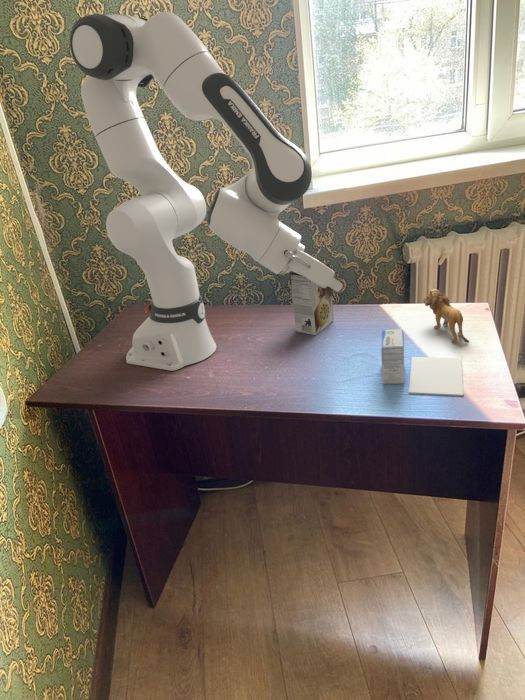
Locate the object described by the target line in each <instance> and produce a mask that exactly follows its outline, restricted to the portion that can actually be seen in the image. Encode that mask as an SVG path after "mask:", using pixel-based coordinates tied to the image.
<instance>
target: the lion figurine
mask: <svg viewBox="0 0 525 700" xmlns="http://www.w3.org/2000/svg"><path fill="white" fill-rule="evenodd" d="M422 302H423V303H424V306H425V307H428V306H429V309H431V310H432V313H433V314H434V315H435V322H436V325H434V326H433V328H435V330H439V329H441V328H442V327H441V326H444V325H445V327H446V326H448V328H449V331H450V334H451V335H452V337H453V339H451V343H452V344H457V343H458V337H461V338H462V340H463V341H464V343H467V344H468V343H470V340H468V339H467V338H466V337H465V336H464V334H463V323H464V317H463V313H462V312H461V311H460V310H459V309H456V308H455V307H453V306H452V305H451V304H450V303H451V302H450V300H449V298H448V296H447V295H446V294H445V293H444V292H443V291H441V290H440V289H437V288H432V289H429V294H427V295H426V296H425V297H424V298H423V299H422ZM441 319H443V322H442V324H441ZM456 324H457V327H458V332H456V328H455V327H456Z"/></svg>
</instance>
